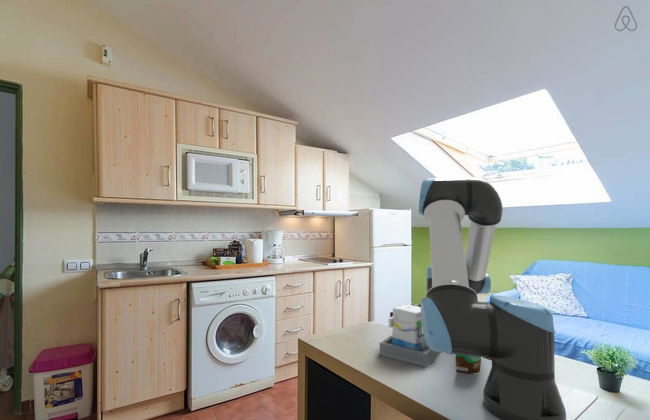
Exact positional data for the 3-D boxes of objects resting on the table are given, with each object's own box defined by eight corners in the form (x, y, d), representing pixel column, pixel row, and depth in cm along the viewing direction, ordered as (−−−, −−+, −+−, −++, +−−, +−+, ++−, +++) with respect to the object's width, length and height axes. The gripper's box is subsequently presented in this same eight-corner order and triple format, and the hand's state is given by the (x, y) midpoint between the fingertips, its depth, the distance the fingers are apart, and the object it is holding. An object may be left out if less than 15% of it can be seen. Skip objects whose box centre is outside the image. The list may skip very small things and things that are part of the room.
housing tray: (426, 366, 92) (426, 354, 92) (379, 354, 100) (379, 342, 100) (440, 351, 103) (440, 340, 104) (397, 342, 112) (397, 331, 112)
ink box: (415, 353, 96) (415, 312, 97) (391, 345, 102) (391, 307, 103) (430, 346, 102) (430, 308, 102) (407, 339, 108) (407, 303, 109)
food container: (479, 380, 84) (479, 340, 84) (454, 374, 87) (454, 335, 88) (489, 365, 94) (488, 330, 94) (466, 360, 97) (466, 325, 98)
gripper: (461, 328, 110) (443, 347, 92) (399, 317, 123) (372, 331, 105) (461, 306, 111) (443, 320, 93) (399, 297, 124) (372, 307, 105)
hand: (405, 326), depth 99 cm, fingers closed on ink box, 10 cm apart
